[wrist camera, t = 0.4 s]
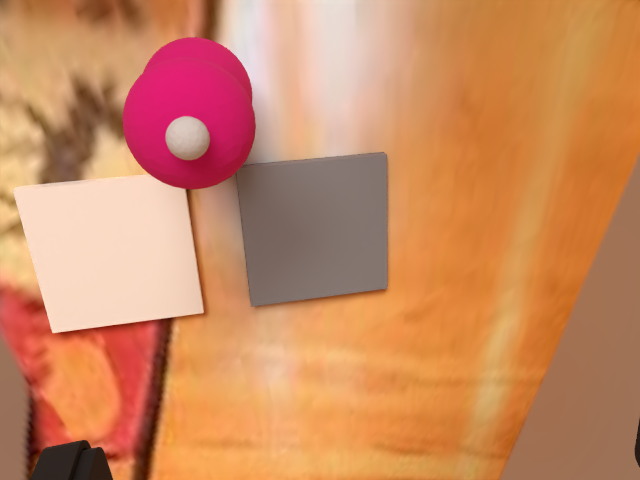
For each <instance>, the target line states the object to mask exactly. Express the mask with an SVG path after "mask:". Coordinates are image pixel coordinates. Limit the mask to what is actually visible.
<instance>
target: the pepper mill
mask: <svg viewBox="0 0 640 480" xmlns="http://www.w3.org/2000/svg"><path fill="white" fill-rule="evenodd" d="M255 127H256V126H255V115H254V110H253V107H252V88H251V84H250V79H249V77H248V74H247V72H246V70H245V68H244V67H243V65H242V63H241V62H240V61H239V60H238V58H237V57H236V56H235V55H234V54H233V53H232V52H231V51H230V50H228V49H227V48H225V47H224V46H222V45H220V44H218V43H216V42H214V41H211V40H208V39H204V38H197V37H194V38H183V39H178V40H175V41H173V42H170V43H168V44H167V45H165V46H163V47H162V48H160V49H159V50H158V51H157V52H156V53H155V54H154V55H153V56H152V58H151V59H150V60H149V62H148V64H147V66H146V67H145V70H144V72H143V74H142V75H140V77H139V78H138V79H137V80H136V82H135V83H134V85H133V86H132V88H131V89H130V91H129V94H128V96H127V98H126V102H125V106H124V111H123V130H124V135H125V139H126V142H127V145H128V147H129V149H130V151H131V153H132V154H133V156H134V158H135V159H136V161H137V162H138V163H139V164H140V166H141V167H142V168H143V169H144V170H145V171H147V172H148V173H149V174H150V175H151V176H152V177H154V178H156V179H157V180H159V181H161V182H162V183H165V184H168V185H170V186H173V187H177V188H182V189H201V188H207V187H211V186H214V185H217V184H219V183H221V182H222V181H224V180H226V179H228V178H229V177H231V176H232V175H233V174H235V173H236V171H237V170H238V169H239V168H240V167H241V166H242V165H243V164H244V162H245V161H246V159H247V157H248V155H249V153H250V150H251V148H252V145H253V141H254V137H255Z"/></svg>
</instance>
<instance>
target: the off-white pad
mask: <svg viewBox="0 0 640 480" xmlns="http://www.w3.org/2000/svg"><path fill="white" fill-rule="evenodd" d="M13 192H14V196H15V200H16V203H17V207H18V210H19V214H20V218H21V221H22V225H23V228H24V232H25V236H26V239H27V243H28V246H29V250H30V254H31V257H32V261H33V264H34V268H35V272H36V275H37V279H38V282H39V286H40V290H41V293H42V297H43V300H44V304H45V308H46V311H47V315H48V318H49V322H50V326H51V329H52V333H57V332H65V331H72V330H80V329H87V328H95V327H102V326H110V325H117V324H125V323H132V322H140V321H147V320H155V319H162V318H170V317H177V316H185V315H192V314H200V313H204V305H203V298H202V292H201V285H200V279H199V272H198V265H197V259H196V252H195V245H194V239H193V232H192V226H191V219H190V212H189V206H188V199H187V192H186V189H182V188H177V187H173V186H170V185H168V184H165V183H162V182H161V181H159V180H157V179H156V178H154V177H152V176H151V175H150V174H145V175H134V176H123V177H113V178H102V179H91V180H81V181H70V182H59V183H49V184H38V185H27V186H17V187H16V188H15V189H14V190H13Z"/></svg>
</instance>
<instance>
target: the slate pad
mask: <svg viewBox="0 0 640 480" xmlns="http://www.w3.org/2000/svg"><path fill="white" fill-rule="evenodd" d="M236 176H237V185H238V194H239V203H240V211H241V220H242V229H243V238H244V247H245V256H246V265H247V273H248V282H249V291H250V300H251V307H252V306H260V305H267V304H275V303H282V302H290V301H297V300H305V299H312V298H320V297H327V296H335V295H342V294H350V293H357V292H365V291H372V290H380V289H387V155H386V154H385V153H384V152H379V153H368V154H358V155H347V156H336V157H326V158H315V159H304V160H294V161H283V162H272V163H262V164H251V165H242V166H241V167H240V168H239V169H238V170H237V171H236Z"/></svg>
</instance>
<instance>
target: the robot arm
mask: <svg viewBox="0 0 640 480" xmlns="http://www.w3.org/2000/svg"><path fill="white" fill-rule="evenodd" d="M635 457H636V460H637V463H638V465H639V467H640V420H639V426H638V432H637V439H636V445H635ZM30 480H113V478H112V475H111V472H110V469H109V466H108V462H107V459H106V456H105V453H104V451H103V449H102V448H101V447H97V448H92V449H91V446H90V444H89V443H88V442H87V441H86V440H81V441H76V442H72V443H67V444H62V445H57V446H52V447H47V448H45V449H44V450H43V451H42V453H41V455H40V457H39V460H38V462H37V464H36V467H35V469H34V472H33V474H32V477H31V479H30Z"/></svg>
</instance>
